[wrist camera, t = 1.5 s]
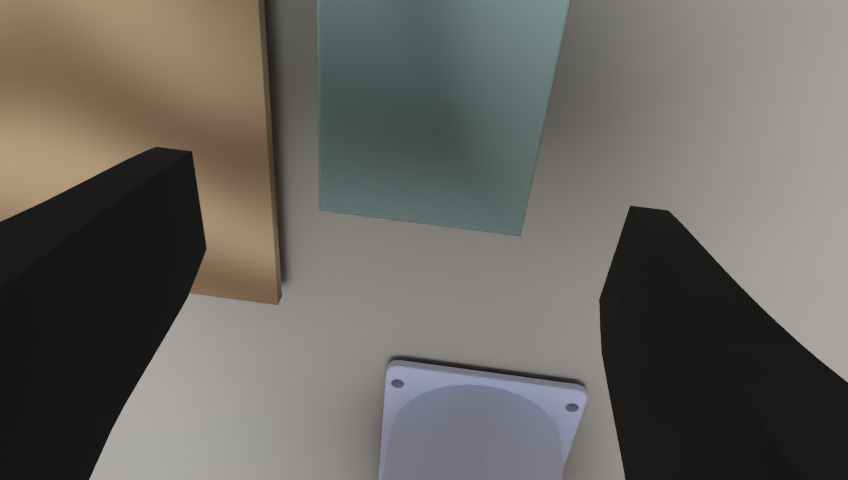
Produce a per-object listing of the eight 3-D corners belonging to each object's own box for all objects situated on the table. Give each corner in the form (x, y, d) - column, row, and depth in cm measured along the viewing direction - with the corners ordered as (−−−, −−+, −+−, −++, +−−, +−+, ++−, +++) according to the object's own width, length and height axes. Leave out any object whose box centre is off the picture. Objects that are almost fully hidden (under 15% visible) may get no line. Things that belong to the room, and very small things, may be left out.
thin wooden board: (287, 283, 25) (278, 304, 24) (28, 249, 25) (9, 268, 24) (264, -143, 17) (249, -137, 16) (-121, -185, 17) (-159, -182, 16)
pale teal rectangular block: (518, 142, 21) (520, 236, 17) (356, 122, 21) (319, 210, 17) (558, -70, 17) (573, -15, 13) (361, -92, 17) (316, -44, 13)
